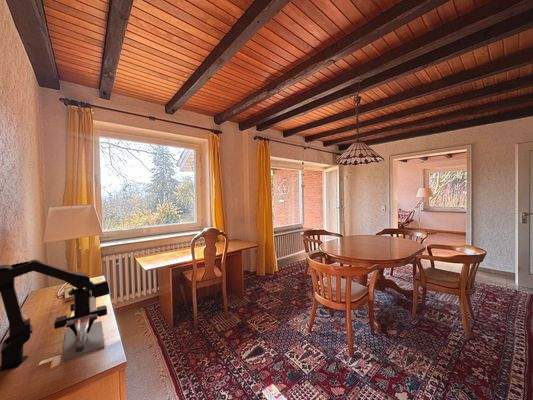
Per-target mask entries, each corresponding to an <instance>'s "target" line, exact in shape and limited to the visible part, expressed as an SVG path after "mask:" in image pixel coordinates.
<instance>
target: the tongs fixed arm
mask: <svg viewBox="0 0 533 400" xmlns="http://www.w3.org/2000/svg"><path fill="white" fill-rule="evenodd" d="M80 326H81V319H78V320H77V327H78V330H77V341H76V352H80V351H82V350H83V349H84V339H83V338H81V339H80Z"/></svg>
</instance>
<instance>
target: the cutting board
mask: <svg viewBox="0 0 533 400" xmlns="http://www.w3.org/2000/svg"><path fill="white" fill-rule="evenodd" d="M102 323H103V322H102V320H99V321H94V322H93V324H92V326H91V329H90V331H89V333H88V336H87V339H86V342H85V344H84V349H83V350H82V351H80V352H76V341H77V337H76V335H75V334H74V332H73V331H72V329H71V328H68V329H66V330H65V331H66V332H65V337H64V343H63V351H62V359H61V362H62V363H63V362H66V361H68V360H69V361H70V360H73V359H75V358H76V359H77V358H78V357H80V356H84V355H88V354H90V353H91V354H92V353H94V352H96V350H97V351H100V350H102V348H103V349H105V348H104V347H106V345H105V337H104V330H103V324H102ZM86 325H87V324H83V325H80V339H81V338H82V335H83V333H84V330H85V328H86ZM76 327H77V330H78V326H76ZM99 349H100V350H99Z"/></svg>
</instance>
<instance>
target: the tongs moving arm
mask: <svg viewBox="0 0 533 400" xmlns="http://www.w3.org/2000/svg"><path fill="white" fill-rule="evenodd" d="M88 323H89V319H88V321H87V323H86V324H85V325H86V328H85V330H84V333H83V335H82V338H83V339H84V344H85V342H86V339H87V336H88Z"/></svg>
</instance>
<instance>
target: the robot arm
mask: <svg viewBox="0 0 533 400" xmlns="http://www.w3.org/2000/svg"><path fill="white" fill-rule="evenodd" d="M31 272H35V273H39V274H42V275H45V276H48V277H51V278H55V279H58V280H60V281H63V282H66V283H67V284H69V285H71V286H72V288H71V289H70V290H69V291H68V292H67V294H68V296H73V303H72V304H71V303H70V312H73V316H69V317H68V315H62V316H61V315H60V316H58V317H56V318H55V320H54V322H53V323H54V326H53V328H54V329H55V330H57V329H60V328H64V327H66V328H69V329H72V331H73V332H74V334H75V335H76V337H77V327H78V326H77V322H76V321H78V320H79V319H80V320H81V319H84V318H87V317H88V320H89V323H88V333H89V331H90V329H91V326H92V324H93V323H95V321H97V319H98V317H99V318H101V317H104V316H106V315H108V307H107V305H99V306H96V310H94V311H91V312H90V292H89V291H90V290H91V297H92V296H94V298H96V299H97V298H101V297H103V296H104V297H105V296H108V295H109V294H110V288H109V282H108V280H104V281H100V282H96V283H95V282H93V281H91V279H90V277H89V275H87V274H86V273H85V272H84V273H83V272H80V271H79V272H78V271H71V270H66V269H63V268H60V267H57V266H55V265H52V264H49V263H46V262H44V261H40V260H39V259H32V260H28V261H22V262H19V263H13V264H1V265H0V296H1V300H2V303H3V306H4V311H5V315H6V317H7V321H8V325H9V328H8V330H9V331H8V336H7V337H6V338H5V339H4V340H3V341H2V343H1V348H0V356H1V357H0V363H1V364H0V371H4V370H10V369H15V368H18V367H19V366H20V365H21V364H22V363H23V362H24V361H25V360H26V359H28V357H29V355H24V345H25V344H26V343H28V341H29V340H30V339H31V334H33V332H34V331H33V328H34V327H33V325H32V324H31V318H28V319H25V318H24V316H23V312H22V309H21V305H20V302H19V297H18V295H17V290H16V287H15V280H16V278H17V277H20V276H23V275H26V274H28V273H31Z"/></svg>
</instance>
